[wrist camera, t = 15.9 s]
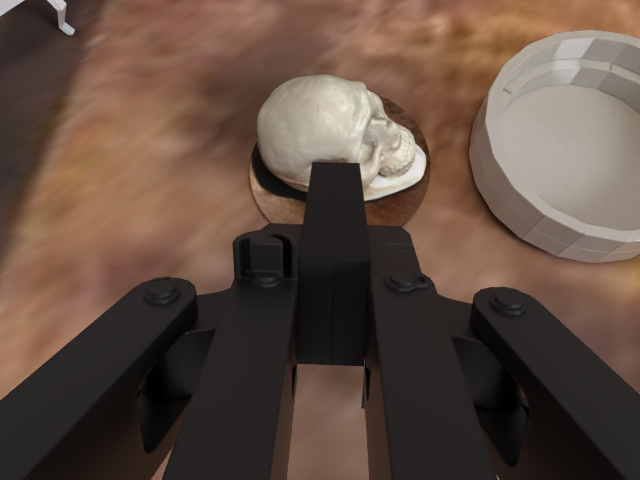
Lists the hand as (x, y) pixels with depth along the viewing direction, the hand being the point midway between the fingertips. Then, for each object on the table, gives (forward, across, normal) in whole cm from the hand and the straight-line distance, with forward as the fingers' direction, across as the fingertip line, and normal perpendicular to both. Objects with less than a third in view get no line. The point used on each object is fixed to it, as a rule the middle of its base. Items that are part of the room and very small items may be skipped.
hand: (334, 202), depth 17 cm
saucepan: (+19, +16, -4) cm, 25 cm away
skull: (+18, 0, -5) cm, 19 cm away
